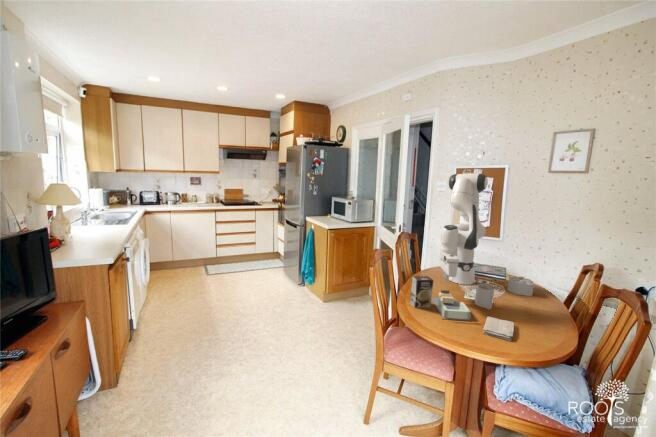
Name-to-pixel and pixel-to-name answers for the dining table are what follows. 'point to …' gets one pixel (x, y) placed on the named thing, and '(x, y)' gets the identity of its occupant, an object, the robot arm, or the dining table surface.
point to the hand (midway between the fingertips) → (446, 279)
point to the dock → (452, 310)
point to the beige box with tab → (446, 297)
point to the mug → (484, 296)
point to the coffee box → (421, 291)
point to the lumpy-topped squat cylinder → (521, 286)
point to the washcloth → (499, 328)
